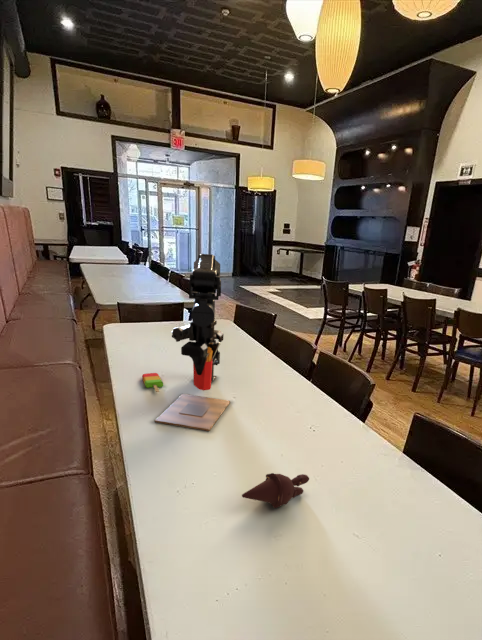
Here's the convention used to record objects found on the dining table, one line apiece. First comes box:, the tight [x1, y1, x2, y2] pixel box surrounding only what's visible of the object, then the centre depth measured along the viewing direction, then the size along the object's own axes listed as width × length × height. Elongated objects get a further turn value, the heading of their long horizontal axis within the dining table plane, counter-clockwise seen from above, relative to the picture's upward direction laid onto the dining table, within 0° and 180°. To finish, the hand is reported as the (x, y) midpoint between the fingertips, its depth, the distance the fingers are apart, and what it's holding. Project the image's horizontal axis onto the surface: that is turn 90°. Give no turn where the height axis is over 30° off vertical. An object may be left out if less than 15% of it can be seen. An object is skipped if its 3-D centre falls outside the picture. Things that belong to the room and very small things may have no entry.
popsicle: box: [141, 372, 164, 393], centre depth 138 cm, size 6×15×2 cm, turn 25°
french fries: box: [192, 347, 213, 391], centre depth 118 cm, size 8×4×12 cm, turn 32°
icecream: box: [241, 472, 310, 509], centre depth 85 cm, size 7×7×15 cm
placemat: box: [154, 393, 231, 432], centre depth 123 cm, size 20×16×1 cm
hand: (203, 370), depth 119 cm, fingers closed on french fries, 6 cm apart
